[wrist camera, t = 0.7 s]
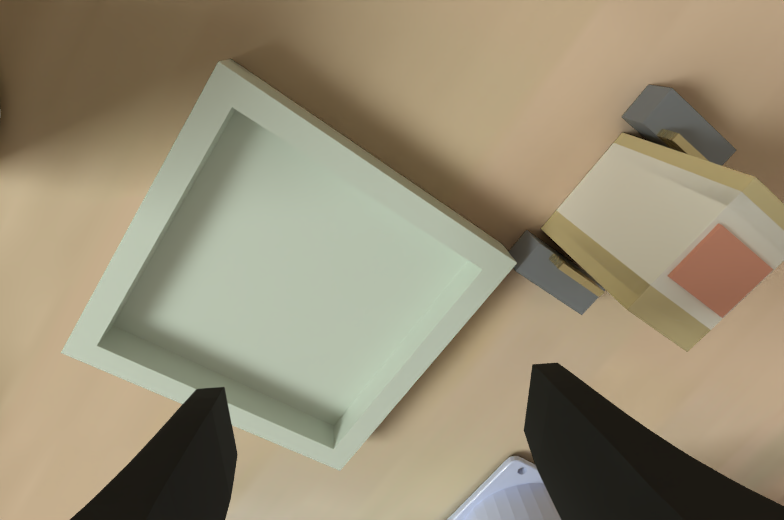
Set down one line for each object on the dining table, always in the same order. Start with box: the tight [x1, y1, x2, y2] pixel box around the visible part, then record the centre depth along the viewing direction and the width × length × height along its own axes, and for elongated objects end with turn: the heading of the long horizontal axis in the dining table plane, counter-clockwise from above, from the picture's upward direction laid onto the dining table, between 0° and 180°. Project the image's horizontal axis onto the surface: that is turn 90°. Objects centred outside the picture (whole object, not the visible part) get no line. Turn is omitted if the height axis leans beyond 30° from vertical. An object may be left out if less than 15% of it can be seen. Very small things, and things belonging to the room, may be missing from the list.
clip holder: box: [509, 85, 736, 315], centre depth 20 cm, size 4×9×2 cm, turn 144°
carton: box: [541, 133, 784, 352], centre depth 18 cm, size 3×5×7 cm, turn 144°
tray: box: [61, 59, 517, 471], centre depth 20 cm, size 13×13×2 cm
